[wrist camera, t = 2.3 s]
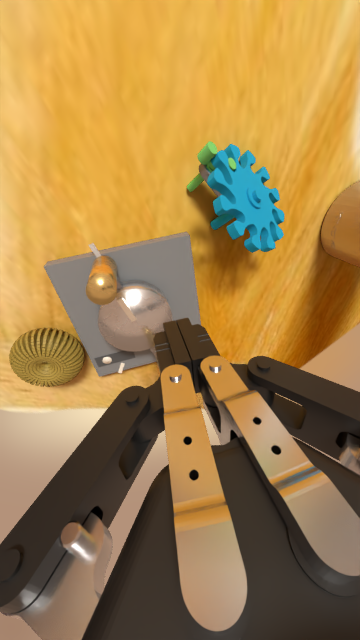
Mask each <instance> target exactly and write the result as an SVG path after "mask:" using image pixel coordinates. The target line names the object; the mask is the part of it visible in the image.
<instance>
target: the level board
mask: <svg viewBox="0 0 360 640" xmlns="http://www.w3.org/2000/svg"><path fill="white" fill-rule="evenodd" d="M89 247H90V248H91V250H92V251H93V252H91V253H86V254H82V255H77V256H72V257H68V258H63V259H58V260H54V261H49V262H47V263H46V265H45V266H44V268H45V270H46V272H47V274H48V276H49V278H50V280H51V282H52V284H53V286H54V288H55V290H56V292H57V294H58V296H59V298H60V300H61V302H62V304H63V306H64V308H65V310H66V312H67V314H68V316H69V318H70V320H71V322H72V324H73V326H74V327H75V329H76V331H77V333H78V335H79V337H80V339H81V341H82V343H83V345H84V347H85V349H86V351H87V353H88V355H89V357H90V359H91V361H92V363H93V365H94V367H95V369H96V371H97V373H98V375H99V377H100V376H104V375H107V374H111V373H115V372H118V373H122V370H126V369H130V368H134V367H137V366H141V365H145V364H149V363H152V362H156V357H155V356H154V354H153V353H152V351H151V350H150V349H147V350H143V351H125V350H121V349H118V348H116V347H114V346H112V345H111V344H109V343H108V342H107V341H106V340H105V339H104V338H103V336H102V335H101V333H100V330H99V327H98V316H99V309H100V305H98V304H95V303H93V302H92V301H90V300H89V299H88V297H87V295H86V286H87V283H88V279H89V275H90V272H91V268H92V265H93V262H94V260H95V259H96V258H97V257H99V256H109V257H111V258H112V259H113V260H114V261H115V262H116V264H117V276H118V278H119V280H120V281H121V282H124V281H129V280H141V281H145V282H148V283H151V284H153V285H155V286H156V287H158V288H159V289H160V290H161V291H162V292H163V293H164V295H165V297H166V299H167V301H168V304H169V306H170V309H171V312H172V321H174V320H175V321H176V320H178V319H183V318H189V320H190V322H191V324H192V325H195V324H199V325H201V322H200V314H199V306H198V298H197V290H196V282H195V274H194V266H193V258H192V250H191V242H190V235H189V234H188V233H187V232H184V233H179V234H174V235H170V236H165V237H160V238H156V239H151V240H147V241H142V242H137V243H133V244H128V245H123V246H119V247H114V248H109V249H105V250H100V251H98V249H97V248H96V246H95V245H94V243H92V244H90V245H89Z"/></svg>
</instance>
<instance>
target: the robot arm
mask: <svg viewBox="0 0 360 640" xmlns="http://www.w3.org/2000/svg"><path fill="white" fill-rule="evenodd" d="M321 242H322V245H323V248H324V250H325V251H326V252H327V253H328V254H329V255H331V256H333V257H336V258H338V259H340V260H343V261H345V262H348V263H350V264H353V265H355V266H357V267H360V181H358V182H356V183H354V184H353V185H351V186H350V187H348V188H347V189H346V190H344V191H343V192H342V193H341V194H340V195H339V196H338V197H337V199H336V200H335V201H334V202H333V204H332V205H331V207H330V209H329V210H328V212H327V214H326V217H325V219H324V222H323V225H322V229H321ZM163 328H164V331H163V332H158V333H156V334H155V336H154V339H153V340H154V345H155V349H156V354H157V359H158V364H159V368H160V377H159V379H158V380H157V381H156V382H155V383H154V384H153V385H151V386H149V387H148V388H146V389H145V388H143V387H141V386H131V387H128V388H126V389H125V390H123V391H122V392H121V393H120V394H119V395H118V396H117V398H116V399H115V400H114V402H113V403H112V404H111V405H110V407H109V408H108V409H107V410H106V412H105V413H104V414H103V415H102V417H101V418H100V419H99V420H98V422H97V423H96V424H95V426H94V427H93V428H92V429H91V431H90V432H89V433H88V434H87V436H86V437H85V438H84V440H83V441H82V442H81V443H80V445H79V446H78V447H77V448H76V450H75V451H74V452H73V453H72V455H71V456H70V457H69V458H68V460H67V461H66V462H65V463H64V465H63V466H62V467H61V468H60V470H59V471H58V472H57V474H56V475H55V476H54V477H53V479H52V480H51V481H50V482H49V484H48V485H47V486H46V487H45V489H44V490H43V491H42V492H41V494H40V495H39V496H38V498H37V499H36V500H35V501H34V503H33V504H32V505H31V506H30V508H29V509H28V510H27V511H26V513H25V514H24V515H23V516H22V518H21V519H20V520H19V521H18V523H17V524H16V525H15V527H14V528H13V529H12V530H11V532H10V533H9V534H8V535H7V537H6V538H5V539H4V540H3V542H2V543H1V544H0V612H1V613H2V614H4V615H6V616H10V617H14V618H18V619H22V620H24V621H25V622H26V623H27V624H28V625H29V626H30V627H31V628H32V630H33V631H34V632H35V633H36V634H37V635H38V636H39V637H40V638H41V639H42V640H360V392H358V391H355V390H353V389H350V388H347V387H345V386H342V385H339V384H337V383H334V382H332V381H329V380H326V379H324V378H321V377H319V376H316V375H313V374H311V373H308V372H305V371H303V370H300V369H298V368H295V367H292V366H290V365H287V364H285V363H282V362H279V361H277V360H274V359H271V358H269V357H265V356H257V357H254V358H252V359H250V360H249V362H248V364H232V363H229V362H228V360H226V359H225V358H223V357H221V356H220V354H219V353H218V351H217V349H216V347H215V346H214V344H213V342H212V340H211V339H210V337H209V335H208V333H207V331H206V329H205V328H204V327H202V326H201V325H199V324H195V325H192V324H191V322H190V320H189V318H183V319H178V320H176V321H175V320H174V321H169V322H164V323H163ZM199 392H201V394H202V397H203V405H204V408H205V410H206V412H207V414H208V416H209V418H210V420H211V422H212V425H213V427H214V429H215V431H216V433H217V435H218V437H219V440H220V444H221V445H214V446H213V445H212V446H211V445H210V441H209V437H208V434H207V430H206V426H205V422H204V418H203V414H202V411H201V408H200V406H199V405H198V402H197V398H196V394H195V393H199ZM275 393H277V394H279V395H281V396H284V397H286V398H288V399H290V400H292V401H294V402H297V403H299V404H301V405H302V406H300V405H298V404H296V403H294V402H292V401H289V400H287V399H285V398H283V397H281V396H279V395H276V394H275ZM164 430H165V432H166V441H167V451H168V461H169V464H168V465H167V466H166V467H164V469H162V470H161V472H160V473H159V474H158V475H157V476H156V478H155V479H154V481H153V483H152V484H151V486H150V488H149V491H148V493H147V495H146V497H145V500H144V502H143V504H142V506H141V508H140V510H139V513H138V515H137V517H136V519H135V522H134V524H133V526H132V528H131V530H130V533H129V535H128V537H127V539H126V542H125V544H124V546H123V548H122V550H121V553H120V555H119V557H118V560H117V562H116V564H115V566H114V568H113V571H112V573H111V575H110V577H109V579H108V582H107V584H106V586H105V588H104V578H105V573H106V569H107V566H108V563H109V561H110V558H111V554H112V548H113V542H112V536H111V534H110V531H109V530H108V528H109V526H110V524H111V522H112V521H113V519H114V517H115V515H116V513H117V511H118V510H119V508H120V506H121V504H122V502H123V500H124V499H125V497H126V495H127V493H128V491H129V489H130V487H131V486H132V484H133V482H134V480H135V478H136V476H137V475H138V473H139V471H140V469H141V467H142V465H143V463H144V461H145V460H146V458H147V456H148V454H149V452H150V451H151V449H152V447H153V445H154V443H155V441H156V439H157V437H158V434H159V433H161V432H162V431H164ZM290 434H291V435H293V436H294V437H296V438H298V439H300V440H302V441H304V442H306V443H308V444H309V445H311V446H313V447H315V448H317V449H318V450H320V451H322V452H324V453H326V454H328V455H330V456H331V457H333V458H335V459H337V460H339V461H340V462H341V464H342V465H341V464H340V463H338V462H336V461H335V460H333V459H331V458H329V457H327V456H326V455H324V454H322V453H321V452H319V451H317V450H315V449H314V448H312V447H310V446H308V445H307V444H305V443H303V442H302V441H300V440H297V439H295V438H293V437H291V436H290Z"/></svg>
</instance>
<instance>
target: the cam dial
mask: <svg viewBox="0 0 360 640" xmlns="http://www.w3.org/2000/svg"><path fill="white" fill-rule="evenodd" d="M86 295H87V297H88V299H89V300H90V301H92V302H93V303H95V304H98V305H100V309H99V316H98V327H99V330H100V333H101V335H102V336H103V338H104V339H105V340H106V341H107V342H108V343H109V344H111V345H112V346H114V347H116V348H118V349H121V350H125V351H143V350H147V349H150V350H151V351H152V353H153V354H154V356H155V357H156V362H157V367H158V372H159V377H160V368H159V364H158V359H157V354H156V349H155V345H154V340H153V339H154V336H155V334H156V333H158V332H163V331H164V328H163V323H164V322H169V321H172V312H171V309H170V306H169V304H168V301H167V299H166V297H165V295H164V293H163V292H162V291H161V290H160V289H159V288H158V287H156V286H155V285H153V284H151V283H148V282H145V281H141V280H129V281H124V282H121V281H120V280H119V278H118V276H117V264H116V262H115V261H114V260H113V259H112V258H111V257H109V256H99V257H97V258H96V259H95V260H94V262H93V265H92V268H91V272H90V275H89V279H88V283H87V286H86Z"/></svg>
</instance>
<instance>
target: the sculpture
mask: <svg viewBox="0 0 360 640" xmlns="http://www.w3.org/2000/svg"><path fill="white" fill-rule="evenodd" d="M49 332H50V333H49ZM62 332H63V330H60V331H59V333H58V335H57V329H55V328H54V330H53V329H52V328H42V329H35V330H31V331H29V332H27V333H25V334H23V335H22V336H21V337H19V338H18V339H17V340H16V341H15V343H14V344H13V346H12V348H11V350H10V355H9V358H10V360H9V361H10V364H11V368H12V369H13V371H14V372H15V374H16V375H17V376H19V377H20V378H21V379H22V380H24V381H25V382H27V383H30V384H32V385H34V384H35V383H36V386H39V384H40V382H41V386H42V387H44V385H45V386H46V387H49V386H51V387H53V386H55V385H56V386H58V385H61V384H64V383H67V382H69V381H70V380H72V379H73V378H74V377H75V376H76V375H78V373H79V372H80V370H81V369H82V367H83V363H84V357H85V356H84V351H83V348H82V346H81V344H80V343H79V342H78V340H77V339H76V338H75V337H73V336H72V335H71V334H69V335H68V333H67V332H64V333H63V334H62ZM56 335H57V337H56ZM63 337H64V338H63ZM67 338H68V339H67ZM25 347H26V348H25ZM32 350H33V351H32ZM66 351H67V352H66Z"/></svg>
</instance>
